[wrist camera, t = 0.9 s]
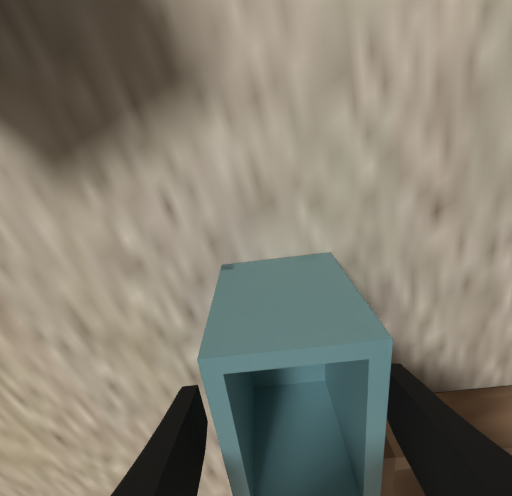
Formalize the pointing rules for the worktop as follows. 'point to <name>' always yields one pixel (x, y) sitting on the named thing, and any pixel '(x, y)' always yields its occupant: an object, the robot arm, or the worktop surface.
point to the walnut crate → (472, 410)
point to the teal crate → (296, 379)
